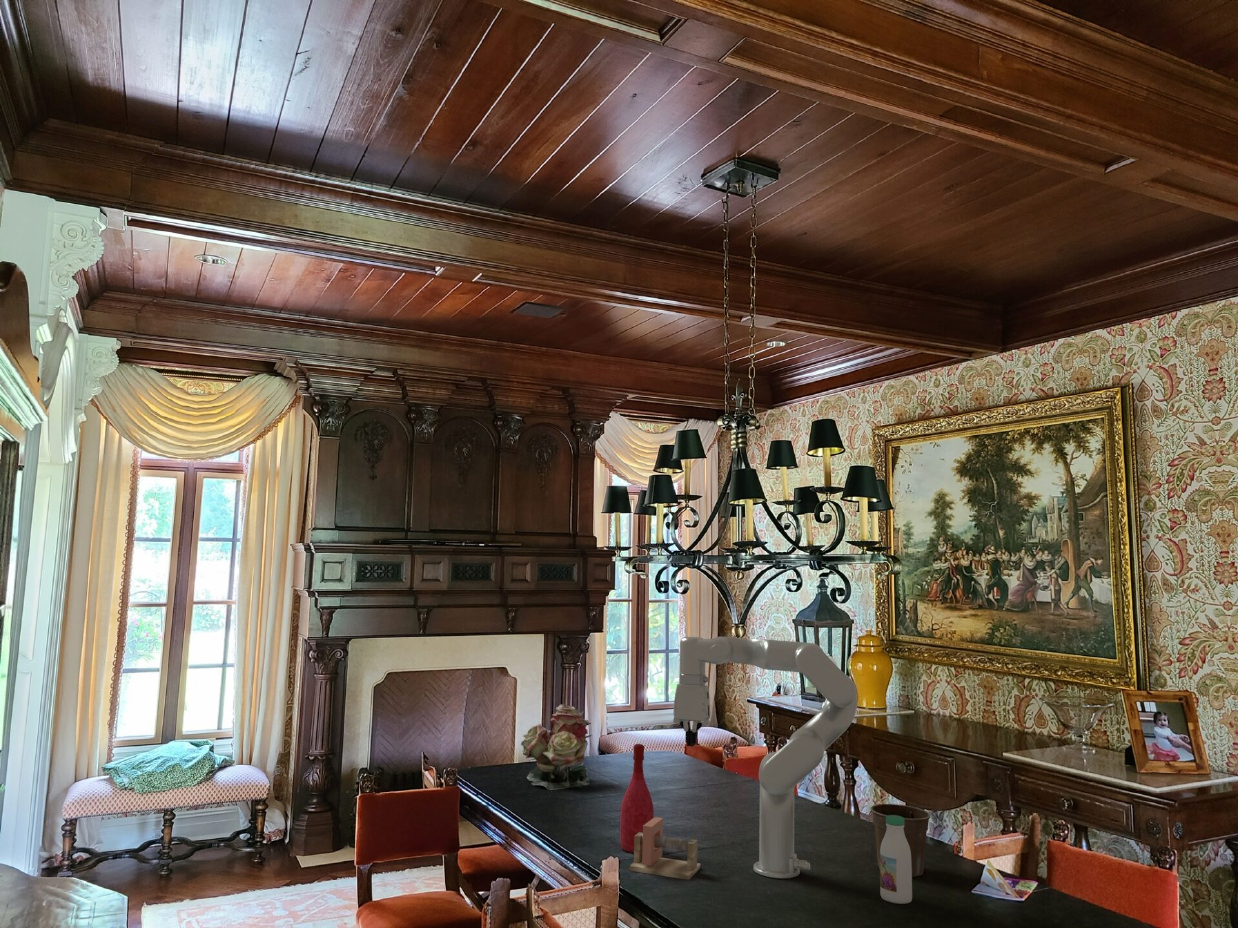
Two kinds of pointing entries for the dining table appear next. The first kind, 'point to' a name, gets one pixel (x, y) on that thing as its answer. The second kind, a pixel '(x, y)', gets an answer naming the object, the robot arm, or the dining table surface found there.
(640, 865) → the rail stand
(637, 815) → the wine bottle
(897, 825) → the milk bottle
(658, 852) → the collar
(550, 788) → the rose bouquet
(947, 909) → the dining table surface
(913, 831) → the plant pot
